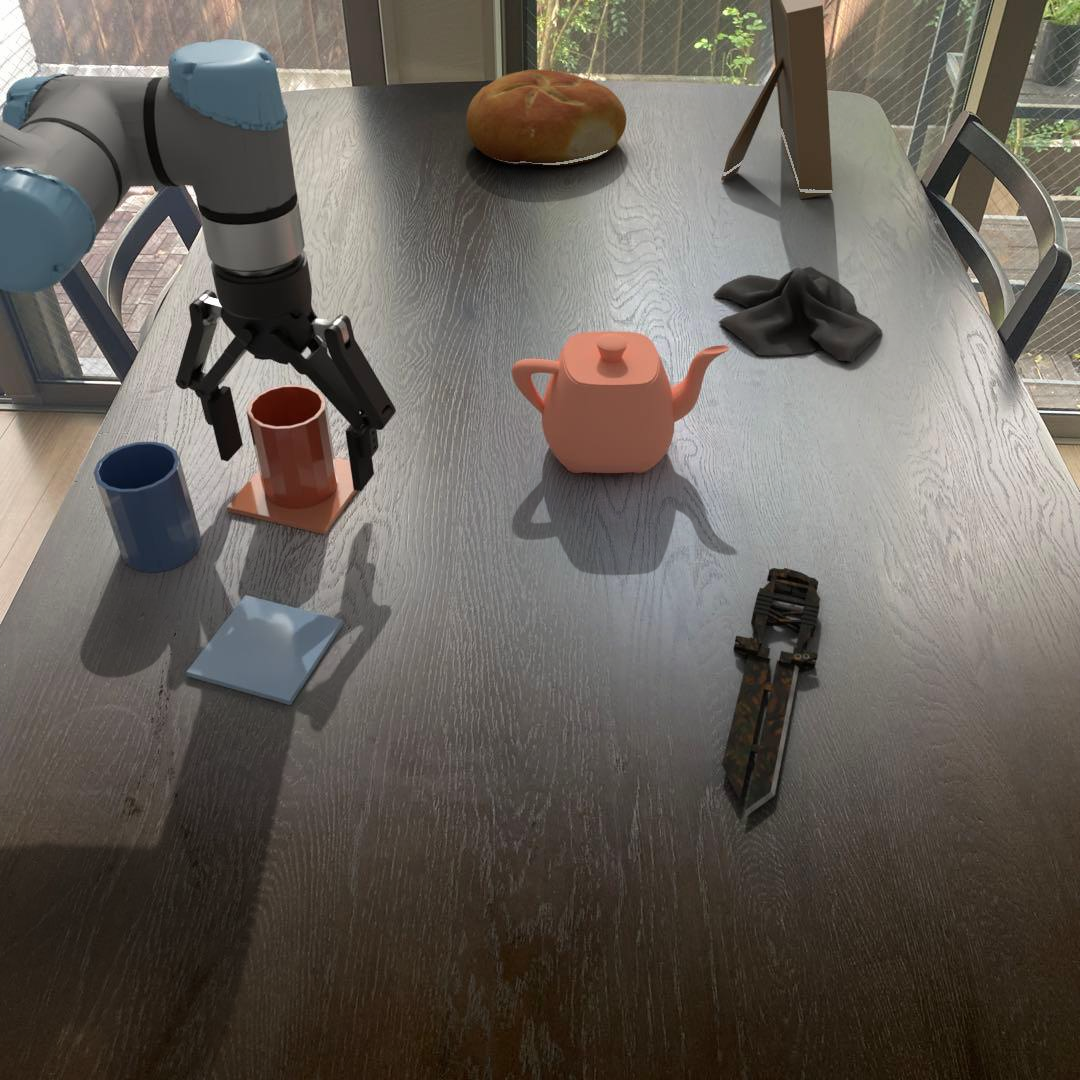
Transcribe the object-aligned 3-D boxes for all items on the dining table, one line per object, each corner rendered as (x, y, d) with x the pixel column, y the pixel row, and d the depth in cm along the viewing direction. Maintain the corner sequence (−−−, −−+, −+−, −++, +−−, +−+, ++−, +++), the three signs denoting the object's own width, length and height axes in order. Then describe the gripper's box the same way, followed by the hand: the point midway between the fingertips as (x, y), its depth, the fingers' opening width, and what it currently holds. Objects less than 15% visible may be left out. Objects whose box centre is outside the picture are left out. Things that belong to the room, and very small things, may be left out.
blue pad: (187, 676, 84) (185, 671, 84) (246, 599, 91) (245, 594, 90) (290, 705, 82) (289, 700, 82) (343, 624, 89) (342, 619, 88)
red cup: (250, 500, 100) (232, 420, 94) (286, 457, 104) (271, 378, 98) (316, 515, 98) (302, 435, 92) (350, 471, 103) (338, 392, 97)
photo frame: (809, 138, 166) (839, -42, 149) (831, 199, 149) (868, 5, 133) (712, 136, 166) (731, -43, 149) (724, 197, 150) (747, 3, 133)
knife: (763, 830, 74) (766, 818, 73) (674, 798, 76) (675, 786, 75) (838, 593, 92) (841, 581, 91) (763, 572, 93) (765, 560, 92)
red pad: (227, 511, 99) (225, 506, 99) (280, 449, 106) (279, 444, 106) (325, 535, 97) (324, 530, 96) (372, 470, 104) (372, 465, 103)
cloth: (894, 367, 118) (907, 317, 114) (723, 362, 118) (730, 313, 114) (857, 269, 134) (867, 222, 130) (708, 266, 135) (713, 219, 131)
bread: (607, 185, 153) (610, 114, 146) (448, 169, 157) (445, 99, 150) (634, 126, 169) (638, 59, 162) (490, 113, 173) (488, 47, 166)
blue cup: (105, 562, 94) (76, 481, 88) (150, 514, 99) (125, 435, 93) (173, 580, 92) (148, 499, 86) (215, 530, 97) (195, 450, 91)
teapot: (724, 489, 102) (740, 380, 94) (512, 490, 102) (509, 380, 94) (706, 408, 112) (720, 303, 104) (513, 408, 112) (512, 303, 104)
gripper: (422, 258, 85) (437, 470, 99) (149, 212, 91) (200, 418, 105) (382, 303, 80) (404, 520, 94) (95, 251, 86) (156, 463, 100)
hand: (297, 467), depth 100 cm, fingers open, 13 cm apart
